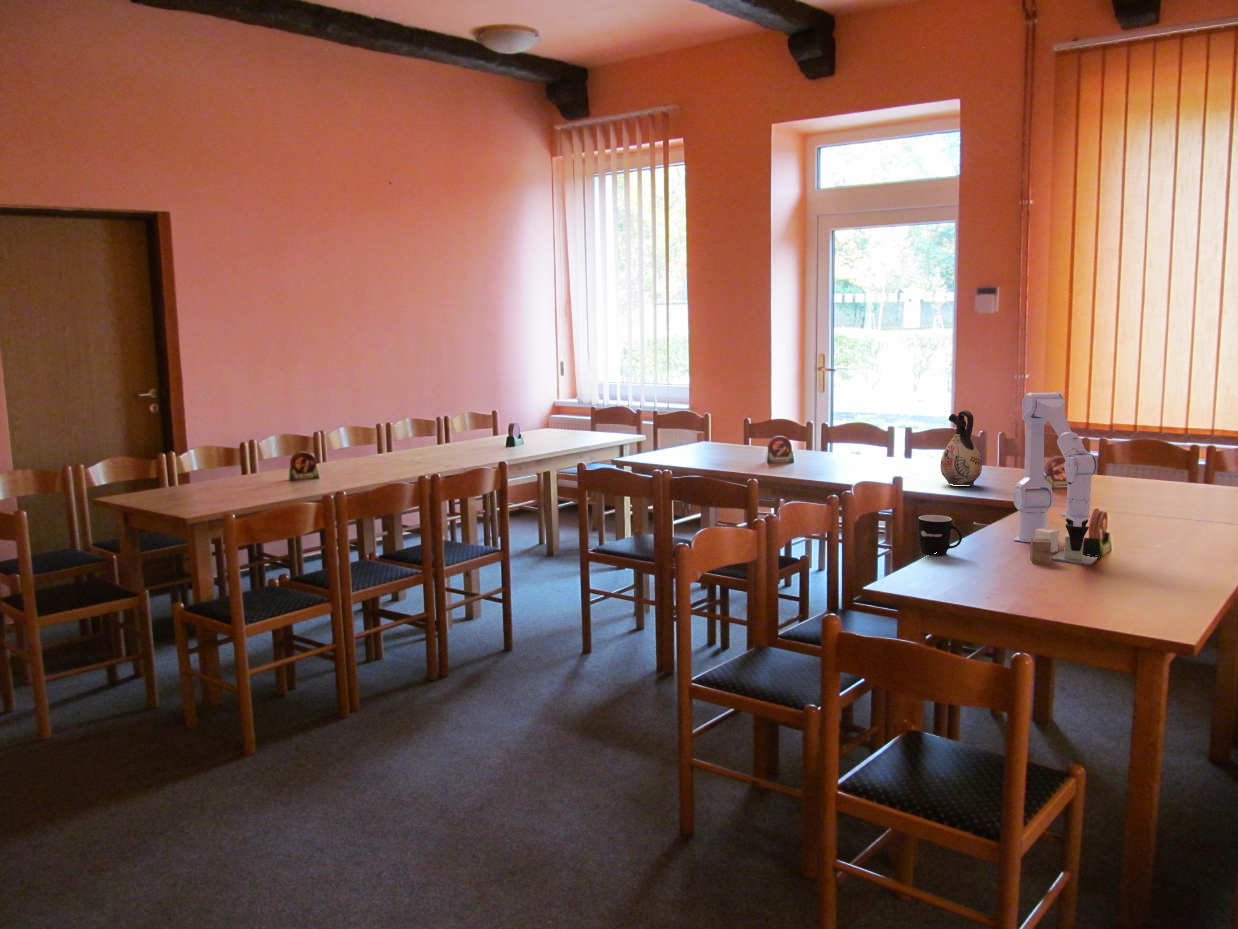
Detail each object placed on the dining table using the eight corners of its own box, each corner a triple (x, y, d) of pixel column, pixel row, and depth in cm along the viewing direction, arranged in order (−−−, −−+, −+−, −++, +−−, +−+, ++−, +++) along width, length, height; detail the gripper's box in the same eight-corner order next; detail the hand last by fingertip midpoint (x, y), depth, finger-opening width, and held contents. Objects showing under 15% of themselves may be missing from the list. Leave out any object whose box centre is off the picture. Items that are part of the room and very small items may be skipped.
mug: (912, 554, 275) (914, 519, 274) (922, 548, 282) (923, 513, 281) (956, 560, 268) (958, 523, 267) (965, 553, 276) (966, 518, 274)
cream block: (1042, 548, 281) (1043, 527, 280) (1057, 551, 278) (1058, 530, 277) (1034, 550, 278) (1035, 529, 278) (1049, 553, 275) (1050, 532, 274)
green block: (1064, 554, 271) (1065, 533, 270) (1082, 555, 269) (1083, 534, 268) (1064, 558, 267) (1065, 536, 266) (1082, 559, 265) (1083, 537, 264)
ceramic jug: (931, 483, 390) (934, 408, 385) (964, 481, 394) (967, 407, 390) (958, 490, 374) (961, 412, 369) (992, 488, 378) (995, 410, 374)
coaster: (1060, 553, 275) (1060, 551, 275) (1099, 558, 269) (1099, 556, 269) (1050, 560, 267) (1050, 558, 267) (1090, 565, 261) (1090, 563, 261)
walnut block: (1030, 559, 269) (1031, 537, 268) (1047, 560, 267) (1049, 538, 266) (1031, 563, 264) (1032, 541, 264) (1049, 564, 263) (1051, 542, 262)
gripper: (1062, 493, 274) (1059, 540, 276) (1062, 502, 261) (1059, 552, 263) (1090, 494, 271) (1087, 543, 273) (1091, 503, 258) (1088, 554, 260)
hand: (1075, 547), depth 267 cm, fingers open, 7 cm apart
